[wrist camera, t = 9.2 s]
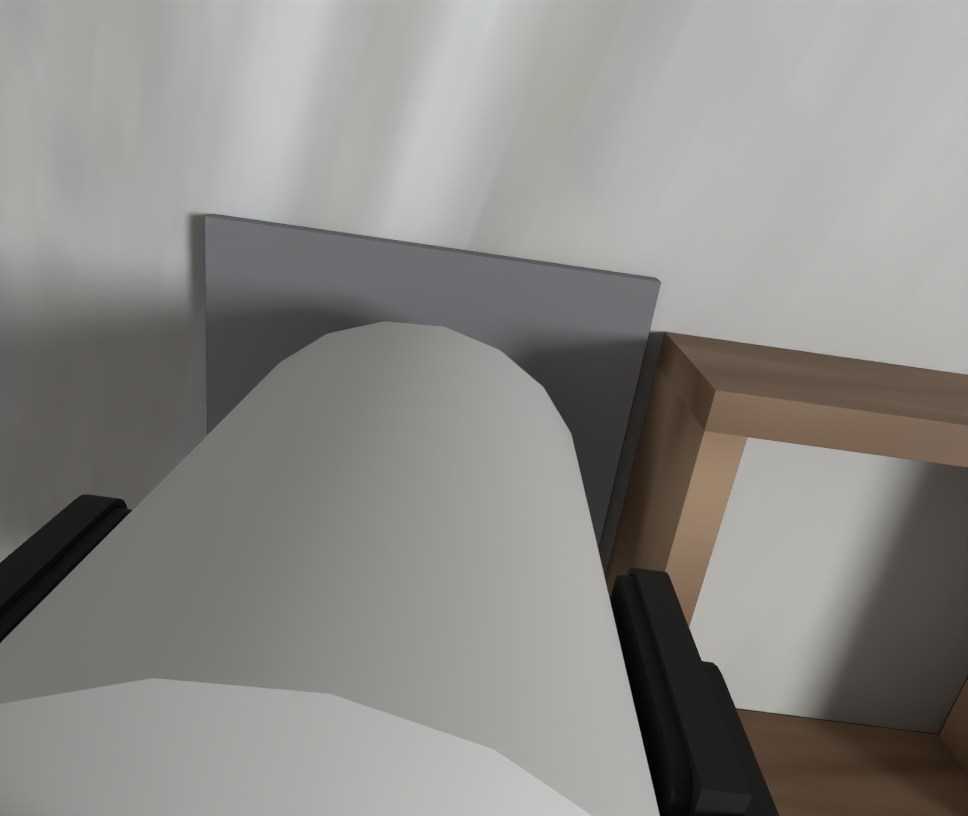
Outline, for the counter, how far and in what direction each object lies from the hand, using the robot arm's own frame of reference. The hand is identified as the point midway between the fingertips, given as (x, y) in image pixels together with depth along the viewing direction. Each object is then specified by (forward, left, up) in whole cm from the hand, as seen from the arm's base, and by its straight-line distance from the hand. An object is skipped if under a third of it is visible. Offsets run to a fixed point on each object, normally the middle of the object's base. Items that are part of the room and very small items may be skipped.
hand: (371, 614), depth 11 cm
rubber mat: (0, 0, -7) cm, 7 cm away
